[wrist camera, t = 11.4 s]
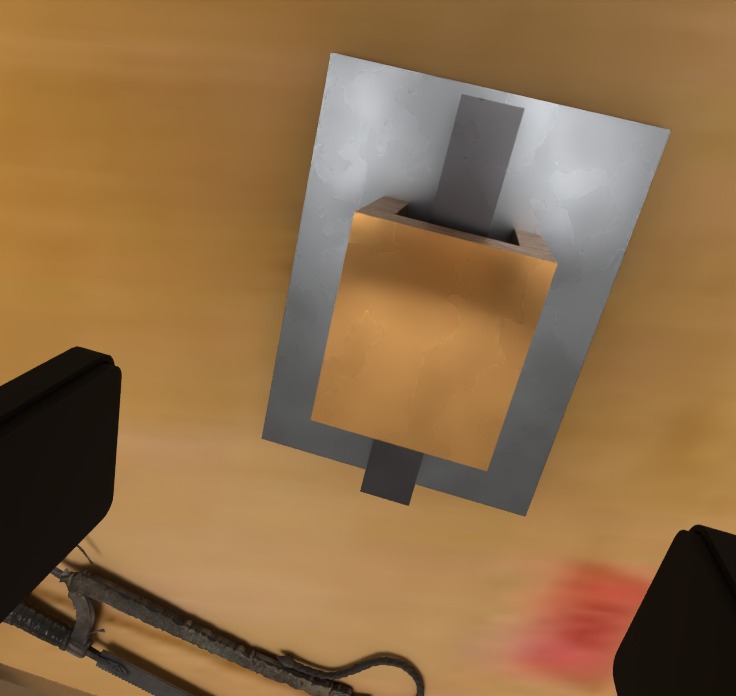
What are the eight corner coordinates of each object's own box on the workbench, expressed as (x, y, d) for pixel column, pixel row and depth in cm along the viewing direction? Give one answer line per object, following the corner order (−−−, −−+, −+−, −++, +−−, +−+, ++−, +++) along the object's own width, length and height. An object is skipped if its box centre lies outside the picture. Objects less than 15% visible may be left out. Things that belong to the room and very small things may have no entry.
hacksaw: (-19, 594, 35) (-39, 613, 34) (10, 464, 31) (-11, 480, 29) (356, 780, 35) (351, 806, 34) (437, 676, 31) (435, 702, 30)
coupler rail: (337, 55, 23) (312, 41, 19) (663, 130, 21) (695, 128, 18) (269, 428, 28) (240, 466, 25) (524, 503, 27) (529, 553, 24)
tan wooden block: (383, 195, 23) (354, 211, 18) (541, 235, 22) (557, 263, 17) (345, 363, 25) (310, 420, 20) (486, 402, 25) (487, 471, 20)
